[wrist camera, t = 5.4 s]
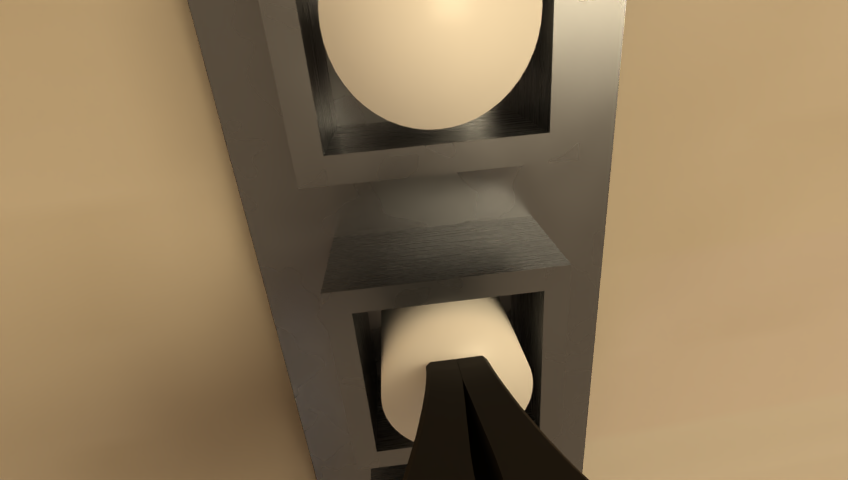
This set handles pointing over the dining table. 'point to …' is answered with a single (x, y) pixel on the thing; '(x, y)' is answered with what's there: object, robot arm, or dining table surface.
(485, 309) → the knob middle
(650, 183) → the dining table surface
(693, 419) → the dining table surface
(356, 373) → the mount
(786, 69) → the dining table surface
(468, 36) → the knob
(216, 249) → the dining table surface
